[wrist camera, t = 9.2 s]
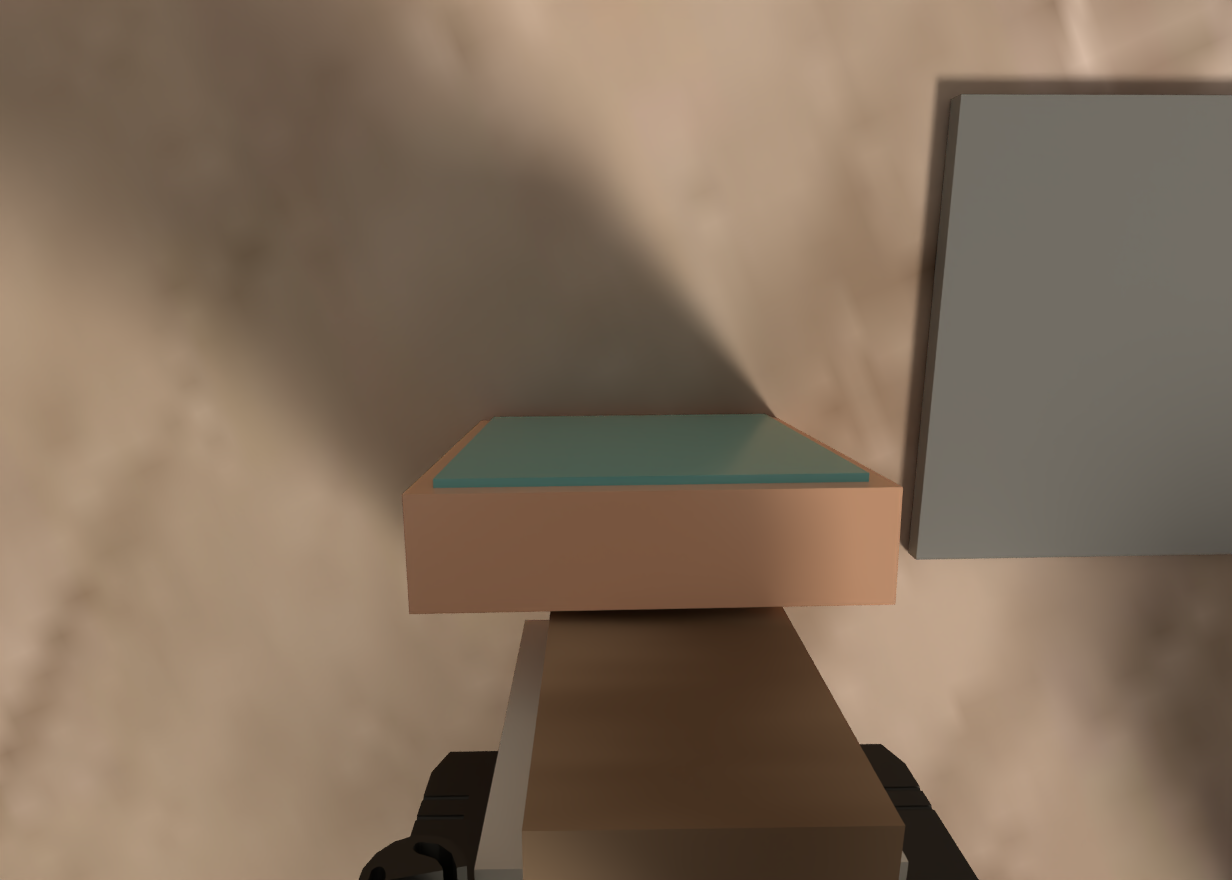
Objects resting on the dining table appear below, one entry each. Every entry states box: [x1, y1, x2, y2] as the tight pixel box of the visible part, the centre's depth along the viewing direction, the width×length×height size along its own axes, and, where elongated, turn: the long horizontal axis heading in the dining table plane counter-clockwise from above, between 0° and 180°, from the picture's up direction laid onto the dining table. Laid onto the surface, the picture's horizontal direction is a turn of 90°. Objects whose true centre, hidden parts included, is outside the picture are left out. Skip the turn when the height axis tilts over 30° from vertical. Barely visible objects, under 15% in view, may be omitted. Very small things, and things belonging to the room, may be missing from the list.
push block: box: [522, 607, 905, 880], centre depth 12 cm, size 4×6×8 cm, turn 0°
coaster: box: [908, 94, 1232, 560], centre depth 19 cm, size 12×12×1 cm
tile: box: [402, 414, 903, 614], centre depth 15 cm, size 8×2×8 cm, turn 90°
